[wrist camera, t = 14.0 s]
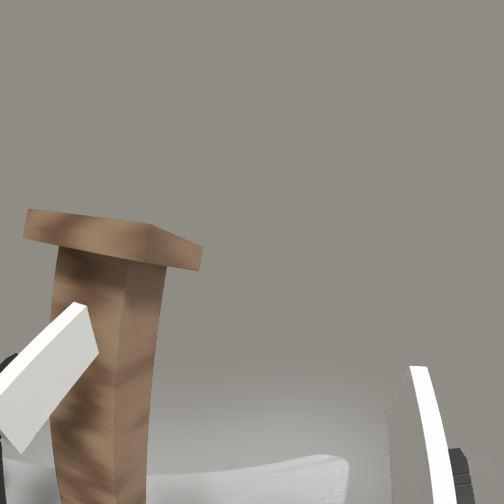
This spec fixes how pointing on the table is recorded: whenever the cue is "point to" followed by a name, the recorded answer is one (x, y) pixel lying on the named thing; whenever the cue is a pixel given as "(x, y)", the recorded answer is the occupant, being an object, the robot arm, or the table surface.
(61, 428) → the stand
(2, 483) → the robot arm
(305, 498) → the table surface
